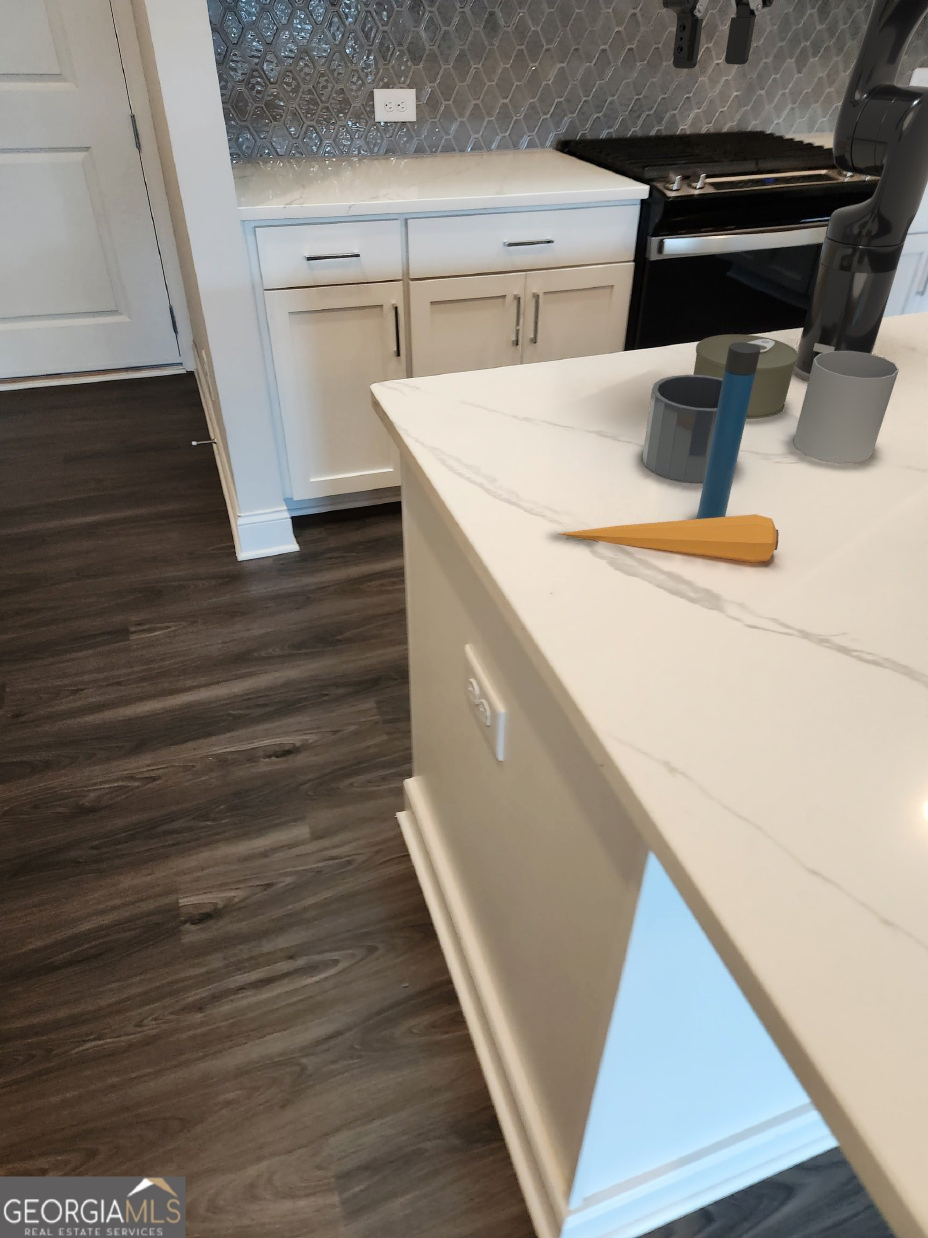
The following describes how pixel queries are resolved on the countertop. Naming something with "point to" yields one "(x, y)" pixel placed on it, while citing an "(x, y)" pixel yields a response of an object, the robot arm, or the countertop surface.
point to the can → (769, 372)
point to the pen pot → (681, 426)
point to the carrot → (697, 536)
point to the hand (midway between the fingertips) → (710, 65)
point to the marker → (728, 428)
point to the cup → (844, 406)
